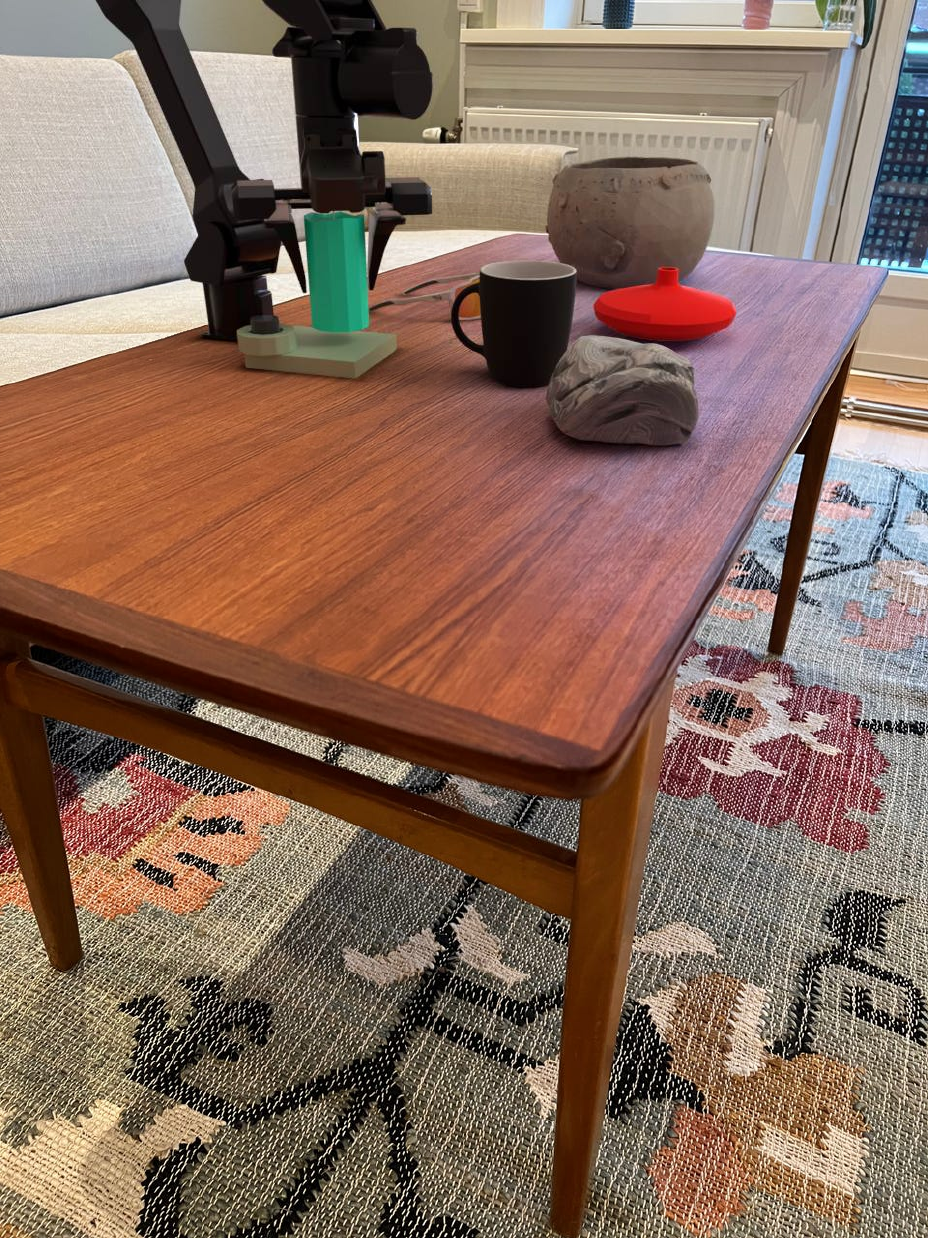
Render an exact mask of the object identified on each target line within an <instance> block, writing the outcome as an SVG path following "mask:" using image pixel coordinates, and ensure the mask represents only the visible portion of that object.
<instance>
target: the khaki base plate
mask: <svg viewBox="0 0 928 1238" xmlns="http://www.w3.org/2000/svg"><path fill="white" fill-rule="evenodd" d="M237 339H238V341H237V345H238V352H239V353H241V354H243V356H244V364H245V368H247V369H256V370H266V371H277V372H287V373H296V374H297V373H298V374H306V375H317V376H327V377H337V378H347V379H357V378H359V377H361V375H363V374H364V373H366V372H367V371H369V370H370V369H371V368H373V367H375V366H376V365H378V363H380V362H381V361H383V360H385V358H388V356H390V355H392V354H393V353H395V351H397V350H398V349H397V347H398V346H397V334H396V333H389V332H388V333H385V332H377V331H376V332H374V331H363V330H359V331H353V332H338V333H333V332H324V331H319V330H316V329H314V328H312V326H306V325H289V324H285V323H280V333H275V334H268V335H259V334H252V329H251V325H249V326H245V327H242V328H240V329H238V330H237Z"/></svg>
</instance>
